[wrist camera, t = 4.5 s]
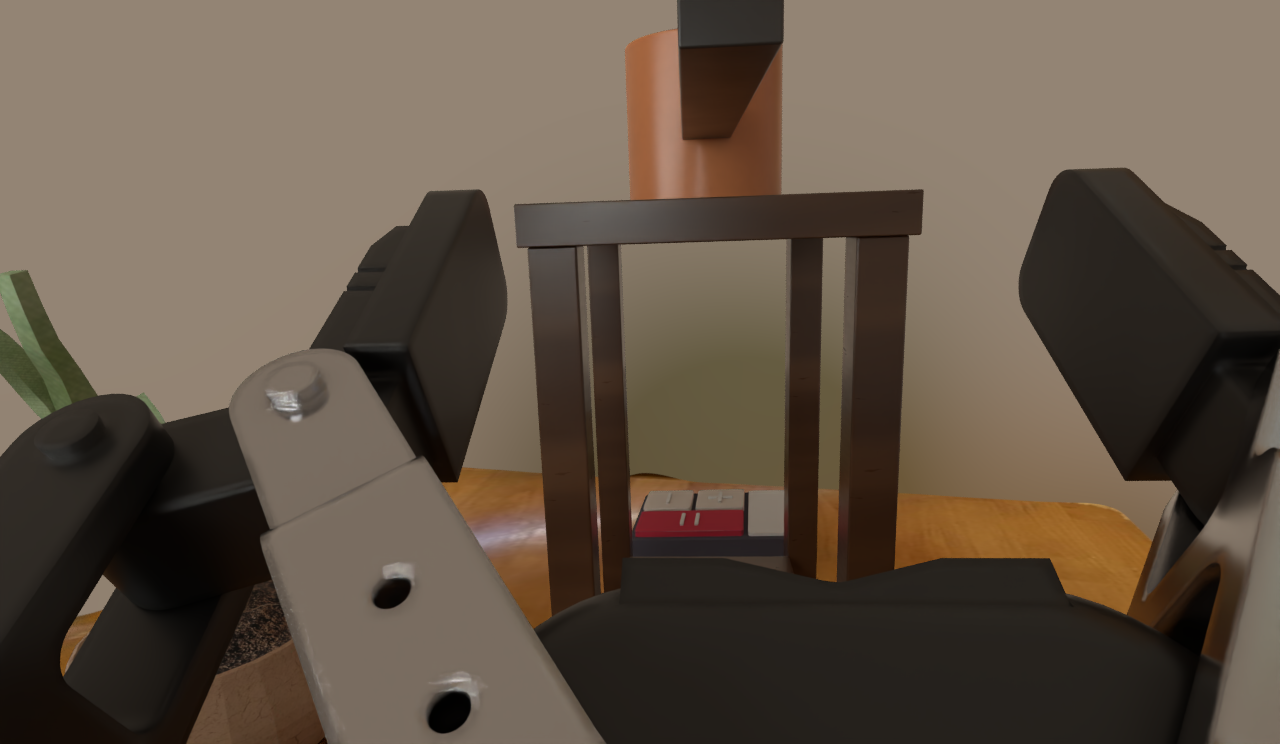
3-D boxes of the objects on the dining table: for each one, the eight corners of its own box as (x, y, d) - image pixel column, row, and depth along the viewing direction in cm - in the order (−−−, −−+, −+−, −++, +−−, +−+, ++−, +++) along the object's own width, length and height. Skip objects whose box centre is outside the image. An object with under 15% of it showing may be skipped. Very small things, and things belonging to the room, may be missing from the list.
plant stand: (886, 956, 30) (924, 189, 24) (564, 944, 31) (513, 204, 25) (812, 686, 48) (822, 202, 41) (608, 683, 49) (585, 211, 42)
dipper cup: (910, 177, 15) (928, -231, 13) (559, 191, 16) (537, -201, 14) (771, 203, 39) (772, 58, 38) (635, 208, 40) (630, 65, 38)
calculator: (645, 487, 75) (789, 483, 72) (648, 525, 76) (791, 523, 73) (627, 531, 64) (795, 529, 62) (631, 575, 65) (797, 575, 62)
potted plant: (204, 639, 56) (133, 257, 50) (413, 657, 52) (366, 250, 46) (-157, 907, 34) (-363, 289, 28) (160, 967, 31) (7, 280, 25)
